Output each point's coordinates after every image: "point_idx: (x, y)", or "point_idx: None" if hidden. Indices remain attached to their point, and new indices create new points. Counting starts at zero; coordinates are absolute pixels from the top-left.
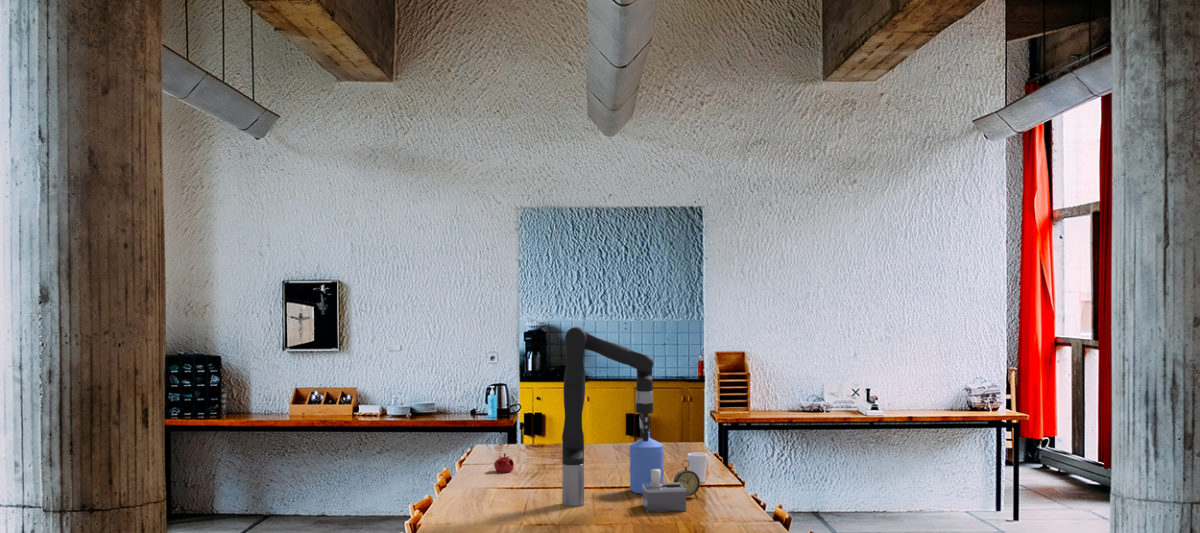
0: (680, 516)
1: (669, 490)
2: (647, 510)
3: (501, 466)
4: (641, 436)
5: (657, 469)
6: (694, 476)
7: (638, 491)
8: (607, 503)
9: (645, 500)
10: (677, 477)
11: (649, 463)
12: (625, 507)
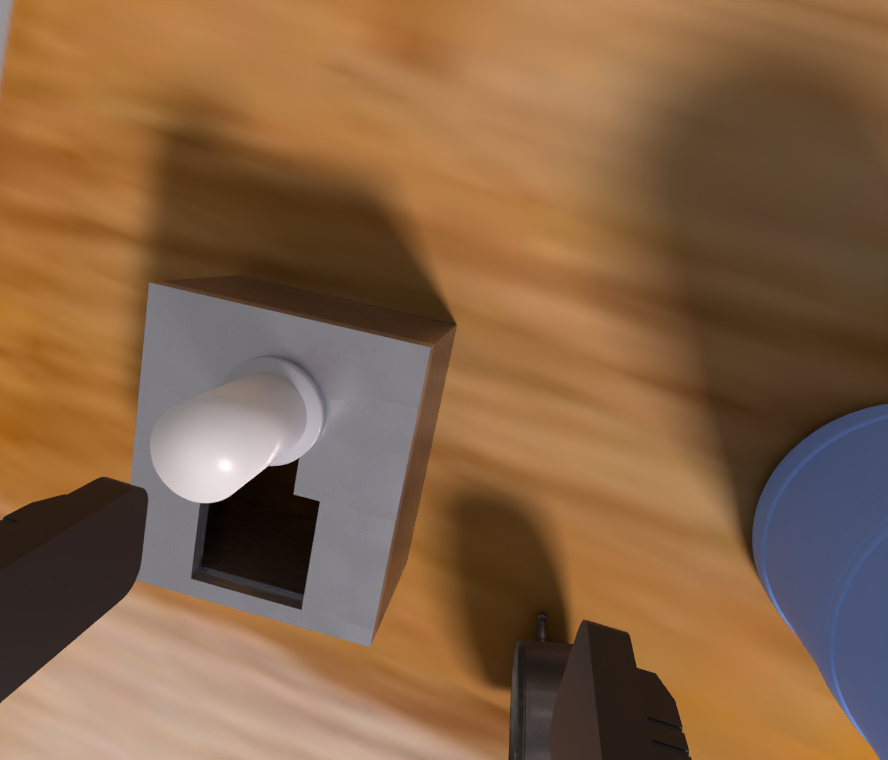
0: (101, 425)
1: (136, 456)
2: (237, 277)
3: None
4: (582, 657)
5: (219, 480)
6: None
7: (819, 432)
8: (597, 81)
9: (300, 299)
10: (531, 710)
11: (879, 639)
12: (421, 178)
